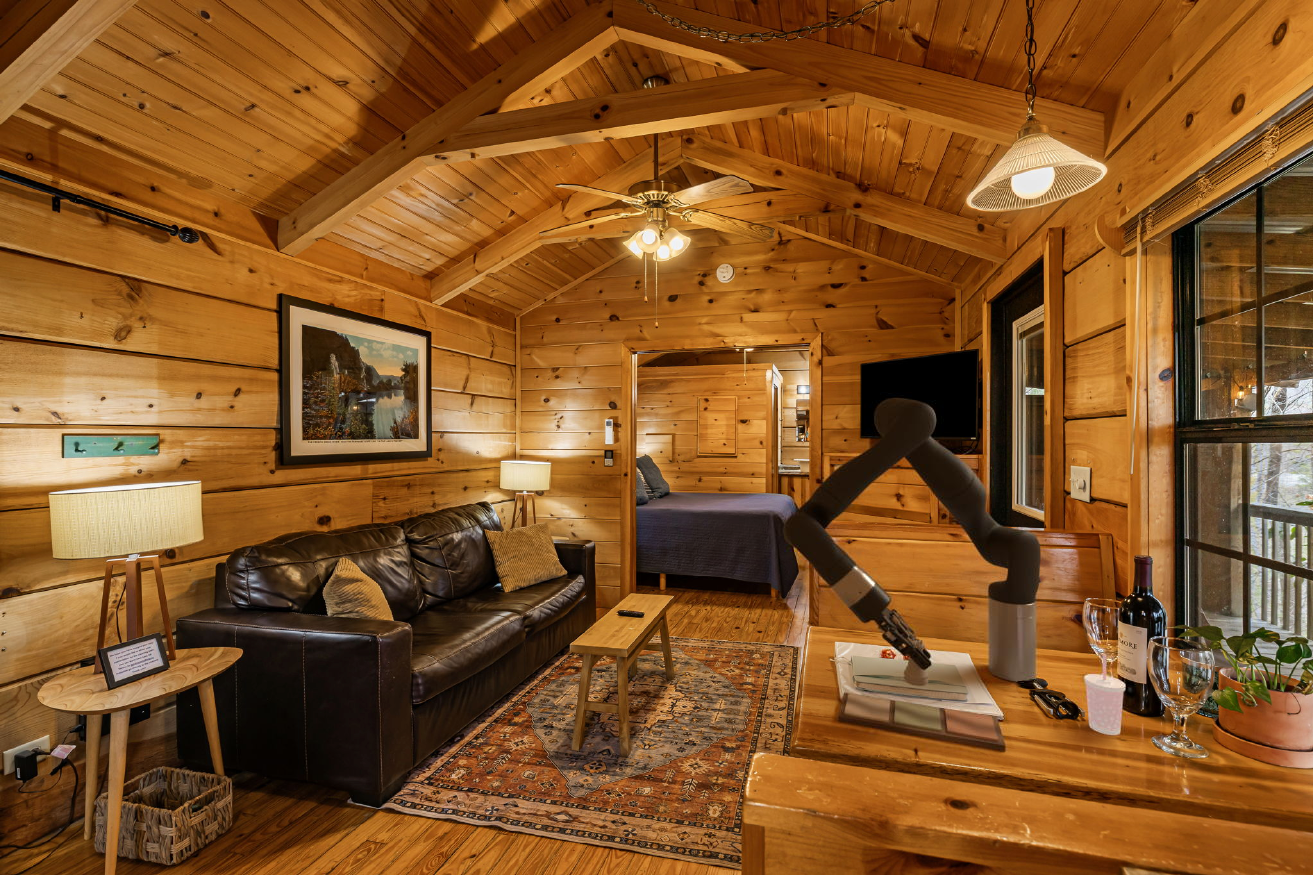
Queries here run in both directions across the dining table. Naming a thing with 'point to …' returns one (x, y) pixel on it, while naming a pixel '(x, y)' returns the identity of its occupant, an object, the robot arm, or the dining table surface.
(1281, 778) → the dining table surface
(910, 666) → the rook chess piece
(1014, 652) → the robot arm
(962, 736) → the tile board
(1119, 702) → the beverage cup
